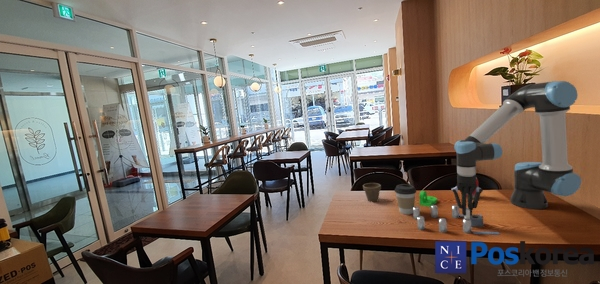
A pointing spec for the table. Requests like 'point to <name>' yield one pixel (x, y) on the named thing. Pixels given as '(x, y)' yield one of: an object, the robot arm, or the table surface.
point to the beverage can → (475, 190)
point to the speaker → (476, 221)
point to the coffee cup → (405, 198)
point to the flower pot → (372, 191)
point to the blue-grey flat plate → (483, 232)
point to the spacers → (441, 219)
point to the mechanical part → (427, 199)
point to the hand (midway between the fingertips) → (467, 221)
